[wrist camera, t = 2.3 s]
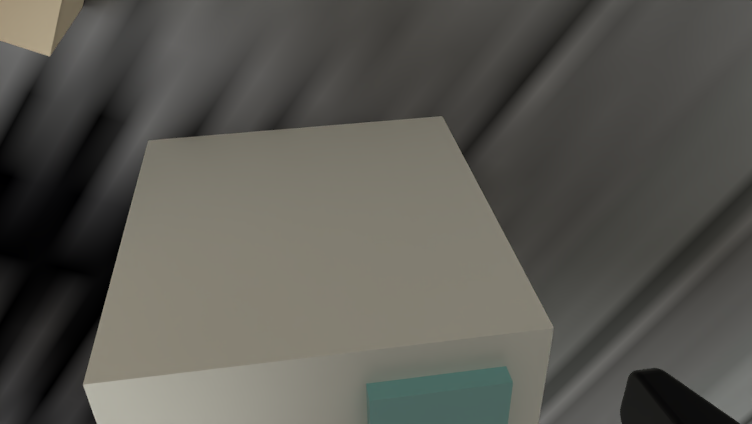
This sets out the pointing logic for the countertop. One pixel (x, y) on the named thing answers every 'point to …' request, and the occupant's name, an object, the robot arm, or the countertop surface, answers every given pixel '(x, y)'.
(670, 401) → the robot arm
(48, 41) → the socket block
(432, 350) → the cream block
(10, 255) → the countertop surface
